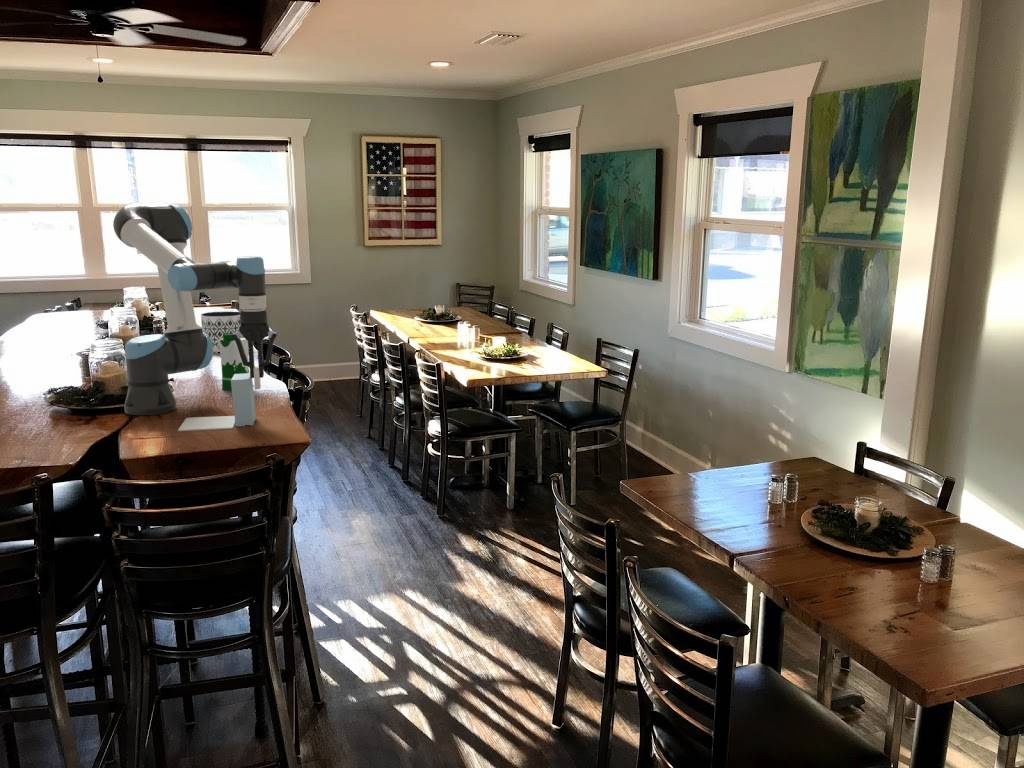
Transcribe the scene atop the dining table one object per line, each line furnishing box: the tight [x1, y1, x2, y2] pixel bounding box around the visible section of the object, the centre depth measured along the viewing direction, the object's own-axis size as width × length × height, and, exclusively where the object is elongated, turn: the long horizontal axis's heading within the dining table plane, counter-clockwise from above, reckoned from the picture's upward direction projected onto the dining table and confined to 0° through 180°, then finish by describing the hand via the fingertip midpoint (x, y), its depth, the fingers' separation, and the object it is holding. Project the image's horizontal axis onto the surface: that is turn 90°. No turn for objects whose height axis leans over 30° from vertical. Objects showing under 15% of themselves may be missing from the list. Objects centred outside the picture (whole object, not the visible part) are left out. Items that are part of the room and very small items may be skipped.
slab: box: [231, 372, 257, 427], centre depth 240 cm, size 5×9×14 cm, turn 12°
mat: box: [177, 415, 235, 432], centre depth 240 cm, size 15×14×1 cm
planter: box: [200, 310, 244, 354], centre depth 363 cm, size 18×18×16 cm
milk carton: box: [217, 333, 250, 392], centre depth 284 cm, size 9×9×20 cm
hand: (257, 388), depth 241 cm, fingers closed
